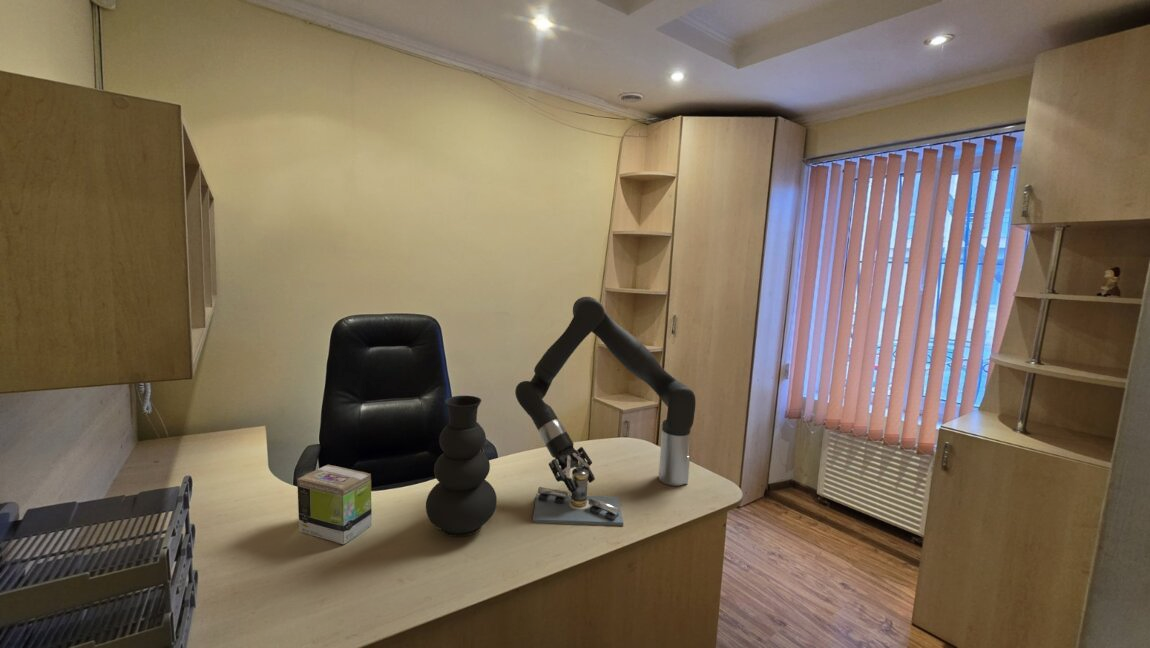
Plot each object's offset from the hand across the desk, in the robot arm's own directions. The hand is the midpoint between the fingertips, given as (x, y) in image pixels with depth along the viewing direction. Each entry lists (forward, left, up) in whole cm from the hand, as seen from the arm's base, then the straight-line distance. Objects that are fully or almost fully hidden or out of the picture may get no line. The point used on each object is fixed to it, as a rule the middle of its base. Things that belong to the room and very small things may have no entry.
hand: (583, 486), depth 137 cm
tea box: (+65, +14, -7) cm, 67 cm away
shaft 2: (-6, +4, -7) cm, 10 cm away
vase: (+33, +11, -7) cm, 36 cm away
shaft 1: (+9, -3, -7) cm, 12 cm away
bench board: (+1, +1, -7) cm, 7 cm away
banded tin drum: (+1, -1, -6) cm, 6 cm away
